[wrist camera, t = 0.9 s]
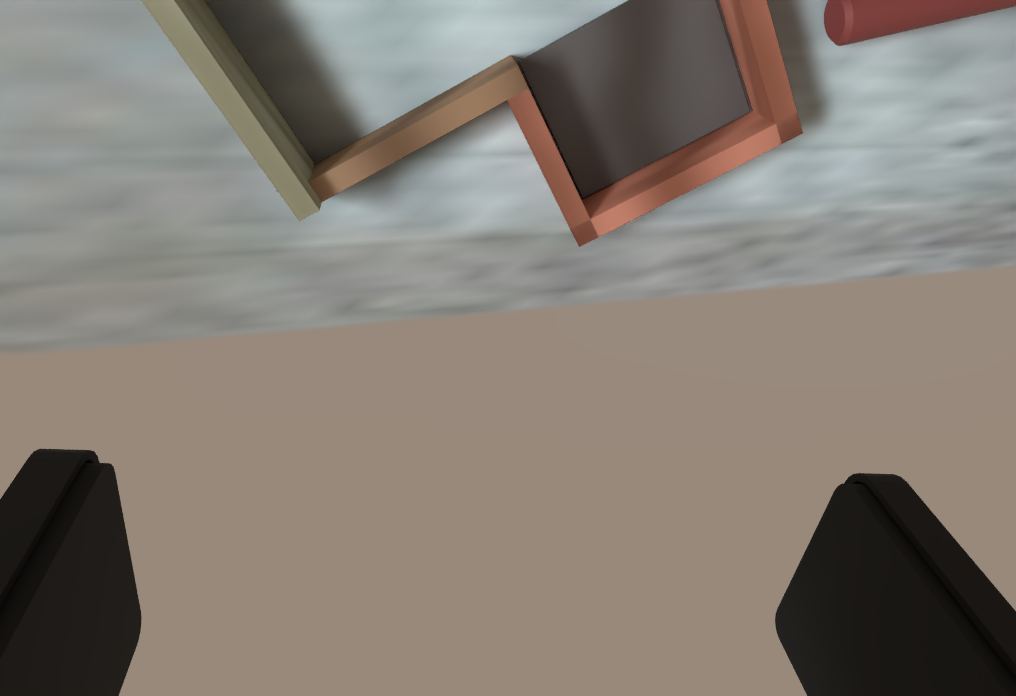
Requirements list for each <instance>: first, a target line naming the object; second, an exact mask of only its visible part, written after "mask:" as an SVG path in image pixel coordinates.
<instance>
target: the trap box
mask: <svg viewBox="0 0 1016 696" xmlns="http://www.w3.org/2000/svg"><path fill="white" fill-rule="evenodd" d="M141 1H142V2H143V4H144V5H145V7H146V8H147V9H148V11H149V12H150V13H151V15H152V16H153V18H154V19H155V20H156V22H157V23H158V25H159V26H160V27H161V29H162V30H163V32H164V33H165V34H166V36H167V37H168V39H169V40H170V41H171V43H172V44H173V46H174V47H175V48H176V50H177V51H178V53H179V54H180V55H181V57H182V58H183V60H184V61H185V62H186V64H187V65H188V67H189V68H190V69H191V71H192V72H193V74H194V75H195V76H196V78H197V79H198V81H199V82H200V83H201V85H202V86H203V88H204V89H205V90H206V92H207V93H208V95H209V96H210V97H211V99H212V100H213V102H214V103H215V104H216V106H217V107H218V109H219V110H220V111H221V113H222V114H223V115H224V117H225V118H226V120H227V121H228V122H229V124H230V125H231V127H232V128H233V129H234V131H235V132H236V134H237V135H238V136H239V138H240V139H241V141H242V142H243V143H244V145H245V146H246V148H247V149H248V150H249V152H250V153H251V155H252V156H253V157H254V159H255V160H256V162H257V163H258V164H259V166H260V167H261V169H262V170H263V171H264V173H265V174H266V176H267V177H268V178H269V180H270V181H271V183H272V184H273V185H274V187H275V188H276V190H277V191H278V192H279V194H280V195H281V197H282V198H283V199H284V201H285V202H286V204H287V205H288V206H289V208H290V209H291V210H292V212H293V213H294V215H295V216H296V217H297V219H298V220H299V221H300V220H302V219H304V218H306V217H308V216H310V215H311V214H313V213H315V212H317V211H319V210H320V206H321V203H322V202H323V201H325V200H326V199H328V198H330V197H332V196H334V195H335V194H337V193H339V192H341V191H343V190H345V189H346V188H348V187H350V186H352V185H354V184H355V183H357V182H359V181H361V180H363V179H365V178H366V177H368V176H370V175H372V174H374V173H375V172H377V171H379V170H381V169H383V168H385V167H386V166H388V165H390V164H392V163H394V162H395V161H397V160H399V159H401V158H403V157H405V156H406V155H408V154H410V153H412V152H414V151H416V150H417V149H419V148H421V147H423V146H425V145H426V144H428V143H430V142H432V141H434V140H436V139H437V138H439V137H441V136H443V135H445V134H446V133H448V132H450V131H452V130H454V129H456V128H457V127H459V126H461V125H463V124H465V123H466V122H468V121H470V120H472V119H474V118H476V117H477V116H479V115H481V114H483V113H485V112H486V111H488V110H490V109H492V108H494V107H496V106H497V105H499V104H501V103H503V102H505V101H506V100H507V102H508V104H509V106H510V108H511V110H512V112H513V114H514V116H515V118H516V120H517V122H518V124H519V126H520V128H521V130H522V132H523V134H524V136H525V138H526V140H527V142H528V144H529V146H530V148H531V150H532V152H533V154H534V156H535V158H536V161H537V163H538V165H539V167H540V169H541V171H542V173H543V175H544V177H545V179H546V181H547V183H548V185H549V187H550V189H551V191H552V193H553V195H554V197H555V199H556V201H557V203H558V205H559V207H560V209H561V211H562V213H563V215H564V217H565V219H566V221H567V224H568V226H569V228H570V230H571V232H572V234H573V236H574V237H575V239H576V241H577V243H578V245H579V247H580V246H582V245H584V244H586V243H588V242H590V241H592V240H594V239H596V238H598V237H600V236H602V235H604V234H606V233H608V232H610V231H612V230H614V229H616V228H617V227H619V226H621V225H623V224H625V223H627V222H629V221H631V220H633V219H635V218H637V217H639V216H641V215H643V214H645V213H647V212H649V211H651V210H653V209H655V208H657V207H659V206H661V205H663V204H665V203H667V202H669V201H671V200H673V199H674V198H676V197H678V196H680V195H682V194H684V193H686V192H688V191H690V190H692V189H694V188H696V187H698V186H700V185H702V184H704V183H706V182H708V181H710V180H712V179H714V178H716V177H718V176H720V175H722V174H724V173H726V172H728V171H729V170H731V169H733V168H735V167H737V166H739V165H741V164H743V163H745V162H747V161H749V160H751V159H753V158H755V157H757V156H759V155H761V154H763V153H765V152H767V151H769V150H771V149H773V148H775V147H777V146H779V145H781V144H783V143H785V142H786V141H788V140H790V139H792V138H794V137H796V136H798V135H800V134H802V133H803V132H802V128H801V125H800V121H799V117H798V114H797V110H796V106H795V103H794V99H793V95H792V92H791V88H790V84H789V81H788V77H787V73H786V70H785V66H784V62H783V59H782V55H781V52H780V48H779V44H778V41H777V37H776V33H775V30H774V26H773V22H772V19H771V15H770V11H769V8H768V4H767V0H719V2H720V5H721V8H722V12H723V15H724V18H725V21H726V25H727V28H728V31H729V34H730V38H731V41H732V44H733V47H734V51H735V54H736V57H737V60H738V64H739V67H740V70H741V74H742V77H743V80H744V83H745V87H746V90H747V93H748V96H749V100H750V103H751V106H752V109H753V111H751V112H750V110H749V107H748V104H747V100H746V97H745V94H744V91H743V88H742V84H741V81H740V78H739V75H738V71H737V68H736V65H735V62H734V58H733V55H732V52H731V49H730V46H729V42H728V39H727V36H726V33H725V29H724V26H723V23H722V20H721V17H720V13H719V10H718V7H717V4H716V0H628V1H626V2H625V3H623V4H621V5H619V6H617V7H616V8H614V9H612V10H610V11H608V12H607V13H605V14H603V15H601V16H599V17H598V18H596V19H594V20H592V21H591V22H589V23H587V24H585V25H583V26H582V27H580V28H578V29H576V30H574V31H573V32H571V33H569V34H567V35H565V36H564V37H562V38H560V39H558V40H556V41H555V42H553V43H551V44H549V45H547V46H546V47H544V48H542V49H540V50H538V51H537V52H535V53H533V54H531V55H529V56H528V57H526V58H524V59H522V60H520V61H519V63H520V65H521V67H522V69H523V71H524V74H525V76H526V78H527V80H528V82H529V84H530V86H531V89H532V91H533V93H534V95H535V97H536V99H537V101H538V103H539V106H540V108H541V110H542V112H543V114H544V116H545V118H546V121H547V123H548V125H549V127H550V129H551V131H552V133H553V135H554V138H555V140H556V142H557V144H558V146H559V148H560V150H561V153H562V155H563V157H564V159H565V161H566V163H567V165H568V167H569V170H570V172H571V174H572V176H573V178H574V180H575V182H576V184H577V187H578V189H579V191H580V193H581V195H582V197H583V199H581V198H580V196H579V194H578V192H577V190H576V188H575V186H574V183H573V181H572V179H571V177H570V175H569V173H568V171H567V169H566V167H565V164H564V162H563V160H562V158H561V156H560V154H559V152H558V150H557V147H556V145H555V143H554V141H553V139H552V137H551V135H550V133H549V130H548V128H547V126H546V124H545V122H544V120H543V118H542V116H541V113H540V111H539V109H538V107H537V105H536V103H535V101H534V99H533V96H532V94H531V92H530V90H529V88H528V86H527V84H526V82H525V79H524V77H523V75H522V73H521V71H520V69H519V67H518V65H517V64H516V62H515V61H514V59H513V58H512V56H511V55H510V56H508V57H506V58H504V59H503V60H501V61H499V62H497V63H496V64H494V65H492V66H490V67H488V68H487V69H485V70H483V71H481V72H479V73H478V74H476V75H474V76H472V77H471V78H469V79H467V80H465V81H463V82H462V83H460V84H458V85H456V86H454V87H453V88H451V89H449V90H447V91H445V92H444V93H442V94H440V95H438V96H437V97H435V98H433V99H431V100H429V101H428V102H426V103H424V104H422V105H420V106H419V107H417V108H415V109H413V110H411V111H410V112H408V113H406V114H404V115H403V116H401V117H399V118H397V119H395V120H394V121H392V122H390V123H388V124H386V125H385V126H383V127H381V128H379V129H378V130H376V131H374V132H372V133H370V134H369V135H367V136H365V137H363V138H361V139H360V140H358V141H356V142H354V143H352V144H351V145H349V146H347V147H345V148H344V149H342V150H340V151H338V152H336V153H335V154H333V155H331V156H329V157H327V158H326V159H324V160H322V161H320V162H318V163H317V164H314V163H313V161H312V160H311V158H310V157H309V155H308V154H307V152H306V151H305V149H304V148H303V146H302V145H301V143H300V142H299V140H298V139H297V138H296V136H295V135H294V133H293V132H292V130H291V129H290V127H289V126H288V124H287V123H286V121H285V120H284V118H283V117H282V115H281V114H280V112H279V111H278V109H277V108H276V106H275V105H274V103H273V102H272V100H271V99H270V97H269V96H268V94H267V93H266V91H265V90H264V88H263V87H262V85H261V84H260V82H259V81H258V79H257V78H256V76H255V75H254V73H253V72H252V70H251V69H250V67H249V66H248V64H247V63H246V61H245V60H244V59H243V57H242V56H241V54H240V53H239V51H238V50H237V48H236V47H235V45H234V44H233V42H232V41H231V39H230V38H229V36H228V35H227V33H226V32H225V30H224V29H223V27H222V26H221V24H220V23H219V21H218V20H217V18H216V17H215V15H214V14H213V12H212V11H211V9H210V8H209V6H208V5H207V3H206V2H205V0H141ZM748 112H749V113H748ZM746 113H747V114H746ZM735 119H736V120H735ZM733 120H734V121H733ZM731 121H732V122H731ZM729 122H730V123H729ZM727 123H728V124H727ZM725 124H726V125H725ZM723 125H724V126H723ZM721 126H722V127H721ZM719 127H720V128H719ZM710 132H711V133H710ZM708 133H709V134H708ZM706 134H707V135H706ZM704 135H705V136H704ZM702 136H703V137H702ZM700 137H701V138H700ZM698 138H699V139H698ZM696 139H697V140H696ZM694 140H695V141H694ZM683 146H684V147H683ZM681 147H682V148H681ZM679 148H680V149H679ZM677 149H678V150H677ZM675 150H676V151H675ZM673 151H674V152H673ZM671 152H672V153H671ZM669 153H670V154H669ZM667 154H668V155H667ZM656 160H657V161H656ZM654 161H655V162H654ZM652 162H653V163H652ZM650 163H651V164H650ZM648 164H649V165H648ZM646 165H647V166H646ZM644 166H645V167H644ZM642 167H643V168H642ZM640 168H641V169H640ZM631 173H632V174H631ZM629 174H630V175H629ZM627 175H628V176H627ZM625 176H626V177H625ZM623 177H624V178H623ZM621 178H622V179H621ZM619 179H620V180H619ZM617 180H618V181H617ZM615 181H616V182H615ZM604 187H605V188H604ZM602 188H603V189H602ZM600 189H601V190H600ZM598 190H599V191H598ZM596 191H597V192H596ZM594 192H595V193H594ZM592 193H593V194H592ZM590 194H591V195H590ZM588 195H589V196H588Z"/></svg>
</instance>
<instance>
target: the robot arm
mask: <svg viewBox="0 0 1016 696" xmlns="http://www.w3.org/2000/svg"><path fill="white" fill-rule="evenodd" d="M775 623H776V630H777V634H778V637H779V639H780V641H781V643H782V645H783V647H784V649H785V651H786V653H787V656H788V658H789V660H790V662H791V664H792V665H793V668H794V670H795V672H796V674H797V676H798V678H799V680H800V682H801V683H802V686H803V688H804V690H805V692H806V694H807V696H1016V611H1015V610H1014V609H1013V608H1012V606H1011V605H1010V604H1009V603H1008V602H1007V600H1005V598H1004V597H1003V596H1002V595H1001V593H1000V592H999V591H998V590H997V589H996V588H995V586H994V585H993V584H992V583H991V582H990V580H989V579H988V578H987V577H986V576H985V574H984V573H983V572H982V571H981V570H980V569H979V567H978V566H977V565H976V564H975V563H974V561H973V560H972V559H971V558H970V557H969V556H968V554H967V553H966V552H965V551H964V549H963V548H962V547H961V546H960V545H959V544H958V542H957V541H956V540H955V539H954V538H953V537H952V535H951V534H950V533H949V532H948V531H947V529H946V528H945V527H944V526H943V525H942V523H941V522H940V521H939V520H938V519H937V517H936V516H935V515H934V514H933V513H932V512H931V511H930V509H929V508H928V507H927V506H926V504H925V503H924V502H923V501H922V500H921V498H920V497H919V496H918V495H917V494H916V493H915V491H914V490H913V489H912V488H911V487H910V486H909V484H908V483H907V482H906V481H905V480H904V479H903V478H901V477H900V476H897V475H894V474H864V473H863V474H862V473H858V474H853V475H851V476H850V477H848V479H847V480H846V482H845V483H844V484H841V485H839V486H838V487H837V488H836V490H835V491H834V493H833V495H832V497H831V499H830V501H829V504H828V505H827V508H826V510H825V512H824V514H823V516H822V518H821V520H820V522H819V524H818V526H817V528H816V530H815V532H814V534H813V537H812V539H811V541H810V543H809V545H808V547H807V549H806V551H805V553H804V555H803V557H802V559H801V561H800V563H799V565H798V567H797V570H796V572H795V574H794V576H793V578H792V580H791V582H790V584H789V586H788V588H787V590H786V592H785V594H784V596H783V599H782V601H781V603H780V605H779V607H778V609H777V612H776V617H775ZM140 628H141V610H140V604H139V599H138V594H137V589H136V583H135V578H134V572H133V567H132V561H131V556H130V551H129V545H128V540H127V534H126V529H125V523H124V518H123V513H122V507H121V502H120V496H119V491H118V486H117V480H116V475H115V471H114V467H113V466H112V465H111V464H109V463H99V460H98V456H97V455H96V453H95V452H94V451H90V450H62V449H38V450H36V451H34V452H33V453H32V454H31V455H30V457H29V458H28V459H27V461H26V463H25V464H24V465H23V467H22V468H21V470H20V471H19V473H18V474H17V475H16V477H15V478H14V480H13V481H12V483H11V484H10V486H9V487H8V489H7V490H6V492H5V493H4V495H3V496H2V498H1V499H0V696H119V692H120V690H121V687H122V685H123V682H124V679H125V676H126V673H127V671H128V668H129V665H130V663H131V660H132V657H133V654H134V652H135V649H136V646H137V643H138V640H139V634H140Z"/></svg>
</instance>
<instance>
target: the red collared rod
mask: <svg viewBox="0 0 1016 696" xmlns="http://www.w3.org/2000/svg"><path fill="white" fill-rule="evenodd" d="M1013 6H1016V0H828V2H827V4H826V7H825V12H824V24H825V29H826V33H827V35H828V37H829V38H830V39H831V40H832V41H833V42H834V43H835V44H836V45H838V46H842V45H847V44H851V43H855V42H860V41H864V40H868V39H873V38H877V37H882V36H886V35H890V34H895V33H899V32H903V31H908V30H912V29H917V28H921V27H925V26H930V25H934V24H939V23H943V22H947V21H952V20H956V19H960V18H965V17H969V16H974V15H978V14H982V13H987V12H991V11H995V10H1000V9H1004V8H1009V7H1013Z"/></svg>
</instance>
